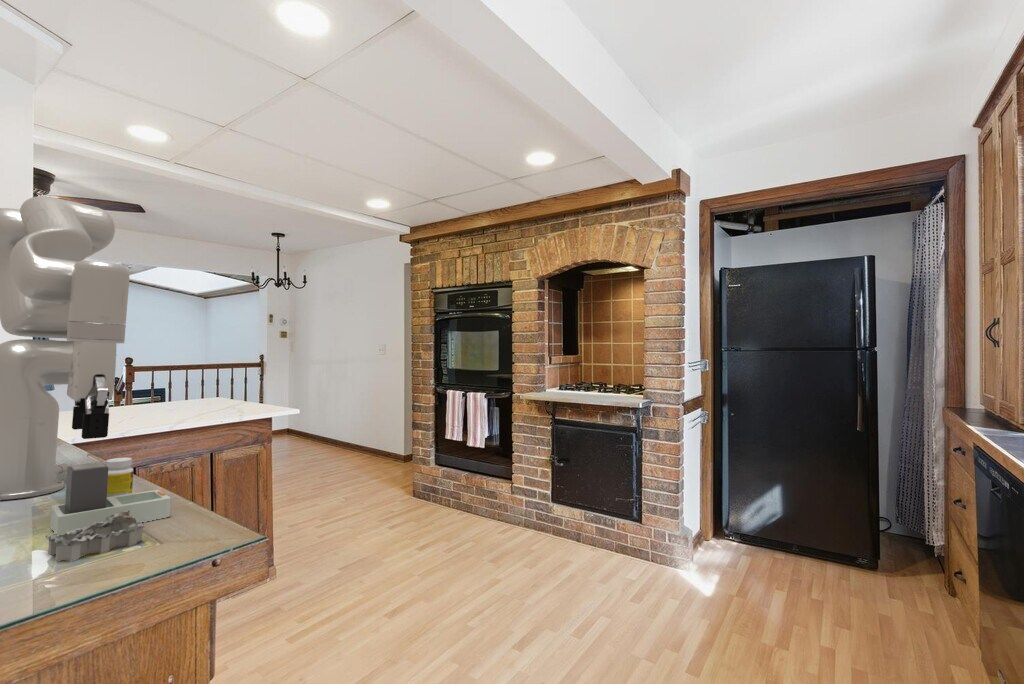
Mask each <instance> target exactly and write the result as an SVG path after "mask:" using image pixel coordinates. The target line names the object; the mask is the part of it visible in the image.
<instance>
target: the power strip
mask: <svg viewBox="0 0 1024 684" xmlns="http://www.w3.org/2000/svg"><path fill="white" fill-rule="evenodd" d="M171 503H172V498H171V496H169V495H167V494H166V493H165V491H162V490H161V489H153V490H145V491H140V492H132V493H131V494H125V495H118V496H112V497H107V498H106V508H102V509H96V510H90V511H84V512H78V513H72V514H66V515H65V503H62V504H54V505H53V504H52V505H51V508H50V520H49V526H50V525H51V527H52V529H53V531H54V533H55V534H57V536H58V535H60V534H64V533H66V532H68V531H71V530H74V529H76V528H84V527H86V526H90V525H92V524H93V523H94V522H103V521H104V520H105V519H106V517H109V516H111V515H113V514H118V513H119V512H123V513H124V512H126V511H129V510H130V512H129V513H130V514H131V515H133V516H134V517H135V520H136V522H140V523H141V524H143V523H142V522H144V523H148V522H147V521H150V522H153V521H152V520H155V521H157V520H156V519H160V518H164V517H168V516H170V517H171V507H172V506H171ZM160 520H161V519H160ZM54 533H53V534H54Z"/></svg>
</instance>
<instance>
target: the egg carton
mask: <svg viewBox="0 0 1024 684" xmlns="http://www.w3.org/2000/svg"><path fill="white" fill-rule="evenodd" d="M129 512H130V510H129V511H126V512H124V513H123V512H119V513H118V514H113V515H111V516H109V517H106V519H105V520H104V521H103V522H94V523H93V524H92V525H90V526H86V527H84V528H76V529H74V530H71V531H68V532H66V533H64V534H60V535H58V536H57V534H55V535H54V534H50V535H46V536H45V538H46V540H48V551H47V555H48V554H49V555H52V556H55V557H54V561H56V562H62V561H61V560H65V561H68V560H73V561H75V560H74V559H77V560H80V559H81V557H83V556H85V555H84V554H86V555H90V554H89V553H91V554H105V553H108V552H110V550H112V549H114V548H116V547H117V548H118V547H124V546H125V547H132V546H135V545H137V543H138V542H141V541H142V540H143V528H146V525H144V523H140V522H136V520H135V517H134V516H133V515H131V514H130V513H129ZM55 554H56V555H55ZM49 555H48V556H49ZM82 555H83V556H82ZM80 556H81V557H80ZM79 558H80V559H79Z"/></svg>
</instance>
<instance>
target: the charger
mask: <svg viewBox="0 0 1024 684" xmlns="http://www.w3.org/2000/svg"><path fill="white" fill-rule="evenodd" d="M66 472H67V474H66V487H65V503H64V504H65V515H66V514H72V513H78V512H84V511H90V510H96V509H102V508H106V498H107V483H108V466H106V463H104V462H102V461H99V462H90V463H80V464H73V465H68V470H67V471H66Z"/></svg>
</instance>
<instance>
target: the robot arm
mask: <svg viewBox="0 0 1024 684" xmlns="http://www.w3.org/2000/svg"><path fill="white" fill-rule="evenodd" d="M115 228H116V227H115V223H114V219H113V218H112V216H111V215H110V214H109V213H108V212H107V211H106V210H105V209H103V208H100V207H98V206H93V205H88V204H84V203H81V202H76V201H71V200H67V199H63V198H58V197H53V196H47V195H46V196H45V195H44V196H43V195H41V196H40V195H39V196H33V197H30V198H28V199H26V200H25V201H24V202H22V204H21V206H20V209H19V208H9V207H7V208H5V207H0V324H1V327H2V330H4V331H5V333H8V334H10V335H12V336H17V337H24V339H23V338H22V339H21V338H20V339H11V340H7V341H5V342H1V343H0V501H7V500H15V499H17V500H18V499H24V498H25V499H26V498H31V497H37V496H38V497H39V496H43V495H47V494H52V493H54V492H57V491H60V490H62V489H64V487H65V481H63V480H61V479H58V478H57V476H58V475H59V474H63V473H65V472H67V471H68V467H69V465H68V463H61V464H57V462H56V461H57V451H58V450H57V447H58V433H59V432H58V431H59V420H60V419H59V418H60V405H59V403H58V401H57V399H56V398H55V397H54V396H53V395H52V394H51V393H50V392H49V391H47V389H46V388H45V387H46V386H55V385H67V389H66V396H68V397H69V398H70V399H71V400H73V402H74V406H73V409H72V422H71V428H72V430H75V431H77V430H81V438H82V439H84V440H90V439H100V438H102V439H103V438H107V437H108V435H109V434H108V433H109V420H110V406H109V401H110V400H111V399H112V398H113V395H114V391H115V390H114V389H115V380H116V370H117V369H116V368H117V345H118V344H125V343H126V341H125V339H126V326H127V314H128V313H127V312H128V300H129V287H130V271H129V270H128V268H127V267H125V266H123V265H120V264H118V263H112V262H107V261H101V260H100V261H99V260H85V259H86V258H89V257H91V256H93V255H96V253H98V252H100V251H102V250H103V249H105V248H106V247H108V246H109V245H110V244H111V243H112V242H113V239H114V236H115V232H116V231H115V230H116V229H115ZM25 337H28V338H25ZM29 338H35V339H29ZM36 338H44V339H36ZM53 339H55V340H53ZM56 339H66V340H56Z"/></svg>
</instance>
